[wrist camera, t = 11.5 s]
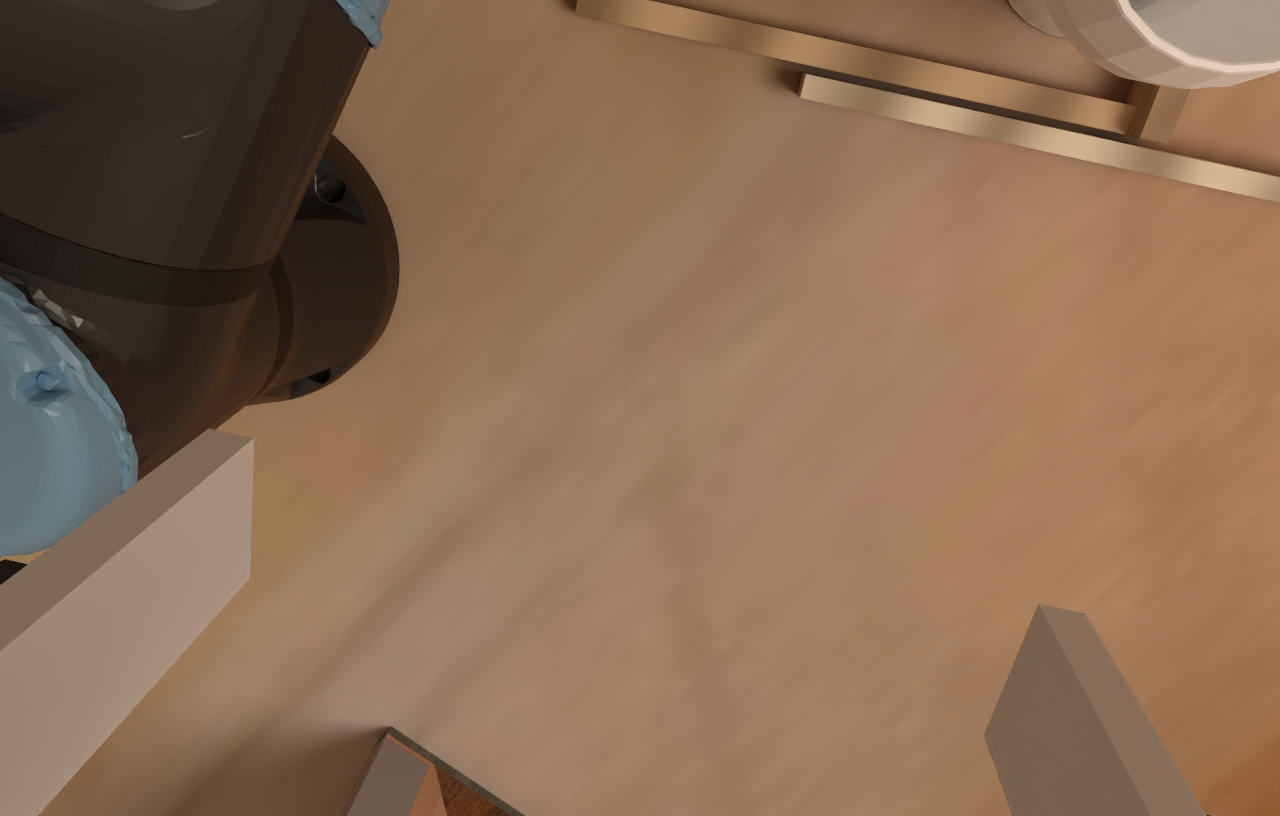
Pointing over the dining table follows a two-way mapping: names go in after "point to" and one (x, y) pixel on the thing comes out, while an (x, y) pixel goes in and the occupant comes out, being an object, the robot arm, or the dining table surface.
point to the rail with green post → (905, 69)
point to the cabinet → (417, 785)
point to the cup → (1167, 37)
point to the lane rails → (1040, 137)
